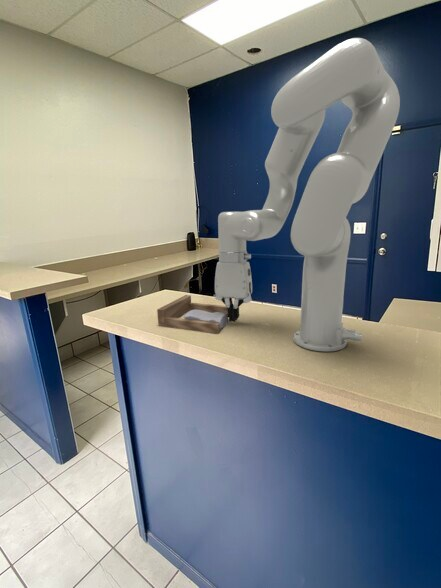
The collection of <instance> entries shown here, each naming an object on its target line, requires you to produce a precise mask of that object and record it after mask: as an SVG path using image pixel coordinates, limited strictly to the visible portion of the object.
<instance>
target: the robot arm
mask: <svg viewBox="0 0 441 588" xmlns="http://www.w3.org/2000/svg"><path fill="white" fill-rule="evenodd" d="M339 101H340V102H342V104H344V105H345V106H346V107H347V108H348V109H350V110H351V113H352V117H351V119H350V121H349V123H348V125H347V127H346V128H345V130H344V133H343V134H342V138H341V140H340V144H339V145H338V148H337V150H336V152H334V153H332V154H329V155H327V156H325V157H324V158H322V159H321V160H320V161H319V162H318V163H317V165H316V166H315V167H314V168H313V170H312V171H311V173H310V176H309V178H308V179H307V182H306V184H305V185H306V186H305V187H304V191H303V193H302V196H301V199H300V202H299V204H298V206H297V209H296V213H295V215H294V218H293V221H292V224H291V227H290V242H291V244H292V246H293V248H294V250H295V251H297V252H298V253H299V254H300V255H302V256H304V259H303V264H302V267H303V268H302V280H301V281H302V282H301V302H300V303H301V305H300V326H299V327H300V329H299V330H297V331H295V332H294V333H293V341H294V342H295V344H296V345H298V346H299V347H301V348H304V349H306V350H311V351H315V352H326V353H327V352H335V351H339V350H342V349H344V348H346V346H347V345H348V340H351V341H358V342H362V336H363V335H362V332H357V330H356V329H351V328H350V329H349V328H346V327H344V322H342V321H343V309H344V296H345V295H344V294H345V283H346V273H347V271H346V270H347V262H348V255H349V248H350V244H351V234H352V231H351V225H350V222H349V219H347V216H348V214H349V212H350V210H351V207H352V205H353V204H355V203H358V202H359V201H361V199H362V198H363V197H364V196H365V195H366V193H367V192H368V190H369V187H370V184H371V182H372V179H373V177H374V175H375V172H376V170H377V167H378V165H379V163H380V161H381V159H382V156H383V154H384V151H385V149H386V146H387V143H388V141H389V140H390V137H391V134H392V132H393V131H394V128H395V125H396V123H397V119H398V117H399V113H400V107H401V106H400V104H401V97H400V91H399V88H398V86H397V84H396V83H395V81H394V80H393V78H392V77H391V76H390V75H389V73H388V72H387V70H385V67H384V66H383V63H382V60H381V59H380V56H379V54H378V52H377V50H376V47H375V46H374V45H373V44H372V42H370V41H369V40H367V39H365V38H362V37H352V38H349V39H346V40H344V41H342V42H340V43H338V44H336V45H335V46H333V47H332V48H331V49H329V50H328V51H326V52H325V53H324V54H322V55H321V56H320V57H319V58H317V59H316V60H315V61H313V62H312V63H310V64H309V65H308V66H307V67H305V68H303V69H302V70H301V71H300V72H298V73H297V74H295V76H293V77H292V78H290V80H288V81H287V82H286V83H285V84H284V85H283V86H282V87H281V88H280V89H279V90H278V91H277V93H276V95H275V97H274V99H273V101H272V103H271V107H270V108H271V109H270V111H271V112H270V113H271V119H272V121H273V123H274V124H275V126H276V127H278V129H277V132H276V134H275V136H274V140H273V142H272V145H271V147H270V150H269V151H268V154H267V156H266V159H265V161H264V168H265V171H266V174H267V176H268V180H269V189H268V194H267V197H266V199H265V202H264V204H263V207H262V209H253V210H251V209H250V210H246V211H221V212H220V213H219V214H218V216H217V217H218V218H217V223H218V224H217V226H218V227H217V229H218V232H217V233H218V262H217V263H216V267H215V273H214V275H215V276H214V293H215V297H214V298H215V300H218V301H220V302H222V303H223V304H224V306H226V307H227V308H228V322H234V323H235V322H236V321H237V320H238V319H239V318H240V306H242V305H243V304H247V303H251V301H252V300H253V299H252V296H251V295H252V294H253V281H252V280H253V279H252V278H253V277H252V271H251V266H250V262H249V261H248V260H251V258H252V254H251V253H248V251H247V241H251V242H256V241H261V240H264V239H265V240H266V239H270V238H273V237H274V236H276V235H277V234H279V232H280V231H281V229H282V228H283V226H284V224H285V222H286V220H287V218H288V216H289V213H290V211H291V209H292V207H293V203H294V202H295V201H294V200H295V196H296V190H297V187H298V186H297V185H298V180H299V176H300V174H301V171H302V169H303V166H305V162H306V160H307V159H308V156H309V153H310V152H311V150H312V148H313V145H314V143H315V142H316V138H317V137H318V135H319V133H320V131H321V129H322V126H323V124H324V121H325V118H326V109H328V108H330V107H331V106H333V105H334V104H336V103H337V102H339ZM233 299H234V300H233ZM233 301H234V302H233Z"/></svg>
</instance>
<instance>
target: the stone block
mask: <svg viewBox="0 0 441 588" xmlns="http://www.w3.org/2000/svg"><path fill="white" fill-rule="evenodd" d="M183 319H189V320H197V321H206V322H214V323H220V331H221V330H222V329H223V328H224V326H226V325H227V324H228V322H229V317H228V315H227V313H224V312H215V313H210V312H206V311H202V310H197V309H195V310H191V311H189V312H187V313H185V314H184V316H183Z"/></svg>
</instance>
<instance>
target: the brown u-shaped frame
mask: <svg viewBox="0 0 441 588" xmlns="http://www.w3.org/2000/svg"><path fill="white" fill-rule="evenodd" d="M195 309H197V310H202V311H206V312H210V313H215V312H224V313H227V315H228V308H227V307H226V305H221V304H220V305H219V304H211V303H210V304H209V303H201V302H200V303H199V302H192V295H189V294H185V295H183V296H181V297H179V298H177V299H175V300H173V301H171V302H169V303H167V304H165V305H163V306H162V307H159V308H157V309H156V310H157V311H156V313H157V324H158V325H157V326H158V327H164V328H165V327H167V328H172V329H181V330H187V331H188V330H189V331H194V332H201V333H203V332H204V333H210V334H211V333H212V334H219V333H220V332H221V330H220V323H214V322H206V321H197V320H189V319H184V318H180V317H182V316H183V315H185V314H186V313H188V312H189V311H191V310H195Z"/></svg>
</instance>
